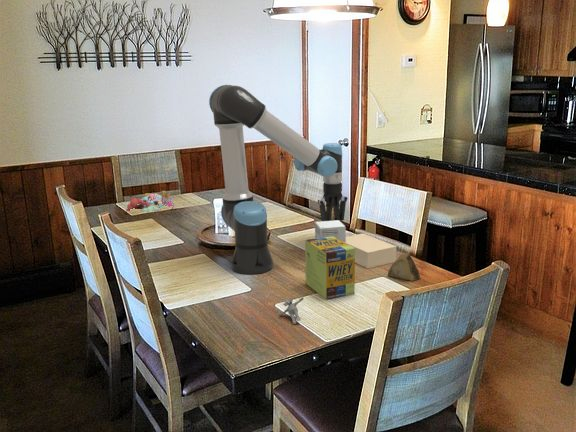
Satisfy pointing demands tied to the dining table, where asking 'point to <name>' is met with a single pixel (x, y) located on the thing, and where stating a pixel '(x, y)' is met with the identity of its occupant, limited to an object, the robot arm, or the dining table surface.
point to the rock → (404, 268)
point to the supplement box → (330, 230)
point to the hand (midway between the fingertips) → (332, 238)
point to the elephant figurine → (292, 309)
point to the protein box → (330, 267)
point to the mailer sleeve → (371, 250)
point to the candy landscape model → (151, 202)
